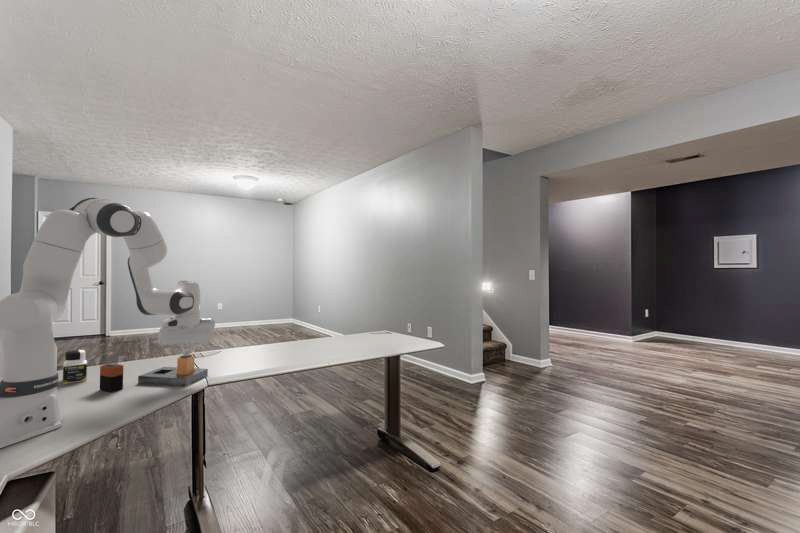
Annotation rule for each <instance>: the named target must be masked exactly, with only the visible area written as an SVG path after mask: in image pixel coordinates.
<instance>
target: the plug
mask: <svg viewBox="0 0 800 533" xmlns="http://www.w3.org/2000/svg"><path fill="white" fill-rule="evenodd" d="M176 359H177V363H176V364H177V366H176V367H177V375H189V374H191V373H193V372H194V368H195V355H193V354H192V353H191V354H184V355H183V354H182V355H179V357H177V358H176Z"/></svg>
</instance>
